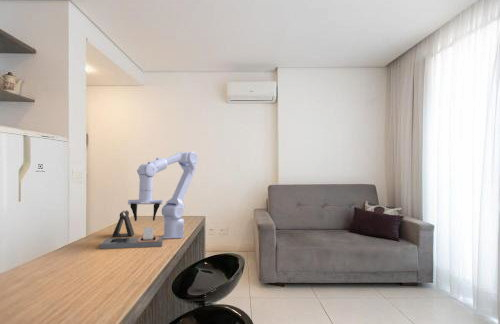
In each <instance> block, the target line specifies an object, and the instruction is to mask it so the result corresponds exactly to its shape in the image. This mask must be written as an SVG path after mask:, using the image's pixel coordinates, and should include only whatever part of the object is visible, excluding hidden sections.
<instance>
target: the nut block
mask: <svg viewBox="0 0 500 324" xmlns="http://www.w3.org/2000/svg"><path fill="white" fill-rule="evenodd" d="M154 231H155V230H154V227H152V226H151V227H150V226H149V227H148V226H147V227H144V228H143V233H142V234H143V235H142V237H143V241H147V240H153V237H154V233H155V232H154Z"/></svg>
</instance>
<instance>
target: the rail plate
mask: <svg viewBox="0 0 500 324" xmlns="http://www.w3.org/2000/svg"><path fill="white" fill-rule="evenodd" d="M163 241H164V240H163V236H153V240H147V241H143V236H139V237H112V238H109V237H108V238H105V239H104V240H103V241H102V242H101V243H100V250H108V249H129V248H131V249H133V248H135V249H136V248H152V247H153V248H155V247H157V248H158V247H163Z"/></svg>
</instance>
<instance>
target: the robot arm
mask: <svg viewBox="0 0 500 324" xmlns="http://www.w3.org/2000/svg"><path fill="white" fill-rule="evenodd" d="M198 161H199V158H198V155H197V153H196V152H195V151H184V152H183V151H181V152H180V151H179V152H176V153H174V154H172V155H170V156H168V157H166V158H162V157H156V158H155V159H154V160H153V161H152V160H149V161H147V163H142V164H140V165H139V166H138V168H137V169H136V172H137V174H138V177H139V184H138V185H139V186H138V187H139V188H138V189H139V190H138V191H139V193H138V199H128V200H127V206H128V205H130V206H129V207H130V209H131V211H132V214H133V219H134V222H137V221H138V205H153V213H152V214H153V215H152V221H155V219H156V215H157V213H158V210H159V208H160V205H163V199H153V192H154V190H153V189H154V176H156V174H157V173H159V172H162V171H164V170H166V169H167V167H168V166H169V165H171V164H175V163H178V164H179V166H180V167H181V169H182V170H183V171H182V174H181V177H180V179H179V181H178V183H177V185H176V188H175V190H174V193H173V194H172V197H171V198H170V199H168V200H167V201H166V202H165V205H163V206H162V208H161V215H162V216H163V219H164V227H163V228H164V229H163V234H162V237H163V239H183V238H184V234H185V230H184V228H185V227H184V225H185V222H184V221H185V220H184V218H182V216H183V215H184V209H185V204H184V202H183V201H184V199H185V196H186V194H187V192H188V189H189V186H190V185H191V182H192V180H193V177H194V175H195V173H196V169H197V168H196V167H197V165H198V164H197V163H198Z"/></svg>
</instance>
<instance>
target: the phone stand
mask: <svg viewBox="0 0 500 324" xmlns="http://www.w3.org/2000/svg"><path fill="white" fill-rule="evenodd" d="M124 214H125V215H124ZM129 214H130V213H129V211H128V210H122V211H121V212H119V219H118V221H117V223H116V226H115V228H114V231H113V234H112V236H111V237H112V238H132V237H133V236H134V235H135V231H134V228H133V226H132V222H131V220H130V216H129ZM123 222H124V223H123ZM123 224H124V226H125V229H126V232H125V233H121V229H122V226H123Z"/></svg>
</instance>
